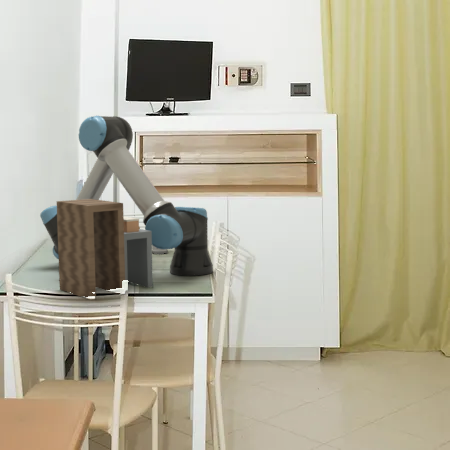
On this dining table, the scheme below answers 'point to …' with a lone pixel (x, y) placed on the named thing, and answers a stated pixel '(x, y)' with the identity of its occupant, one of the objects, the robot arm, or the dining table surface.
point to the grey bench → (138, 257)
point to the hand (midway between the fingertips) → (103, 209)
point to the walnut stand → (90, 245)
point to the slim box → (131, 224)
